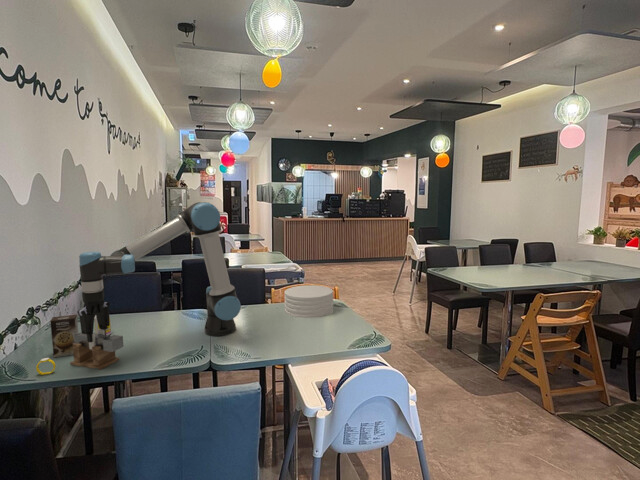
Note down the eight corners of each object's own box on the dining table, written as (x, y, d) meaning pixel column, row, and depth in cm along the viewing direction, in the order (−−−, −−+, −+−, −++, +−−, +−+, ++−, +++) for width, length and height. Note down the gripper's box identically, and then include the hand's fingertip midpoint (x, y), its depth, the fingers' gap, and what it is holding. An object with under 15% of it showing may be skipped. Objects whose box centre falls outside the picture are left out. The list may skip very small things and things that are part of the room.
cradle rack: (119, 360, 161) (118, 340, 160) (101, 369, 152) (99, 348, 151) (89, 355, 166) (87, 336, 165) (70, 364, 157) (68, 344, 156)
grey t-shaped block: (123, 346, 157) (122, 335, 157) (112, 351, 152) (111, 340, 151) (84, 341, 163) (83, 331, 163) (73, 346, 158) (71, 335, 157)
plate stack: (290, 302, 242) (290, 284, 240) (335, 304, 238) (335, 285, 236) (279, 317, 214) (279, 296, 213) (330, 318, 210) (330, 298, 209)
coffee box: (53, 358, 164) (49, 321, 162) (56, 352, 170) (52, 316, 168) (78, 354, 168) (74, 317, 166) (80, 348, 174) (77, 313, 172)
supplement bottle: (114, 333, 192) (112, 308, 191) (101, 338, 186) (99, 312, 185) (105, 331, 195) (103, 306, 193) (92, 336, 189) (90, 310, 187)
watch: (36, 377, 148) (33, 362, 147) (39, 373, 150) (36, 359, 149) (54, 373, 149) (52, 358, 149) (57, 370, 152) (54, 356, 151)
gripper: (103, 285, 164) (107, 338, 167) (66, 295, 148) (71, 354, 151) (117, 286, 162) (121, 340, 165) (81, 296, 146) (86, 356, 149)
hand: (97, 346), depth 158 cm, fingers open, 4 cm apart
